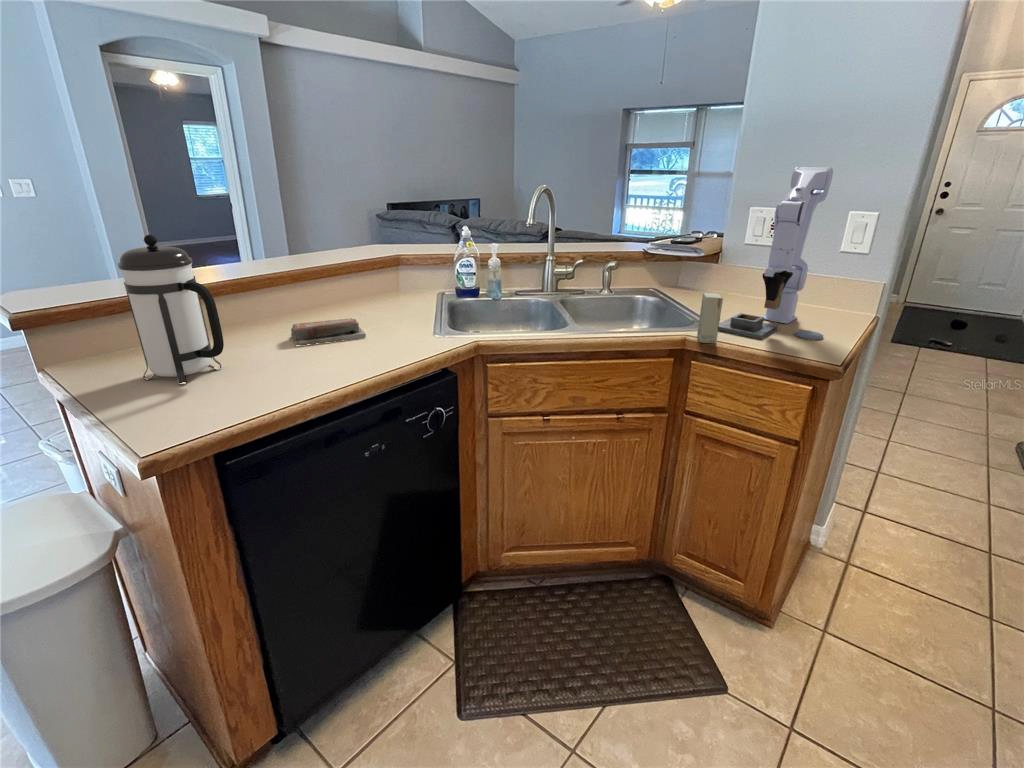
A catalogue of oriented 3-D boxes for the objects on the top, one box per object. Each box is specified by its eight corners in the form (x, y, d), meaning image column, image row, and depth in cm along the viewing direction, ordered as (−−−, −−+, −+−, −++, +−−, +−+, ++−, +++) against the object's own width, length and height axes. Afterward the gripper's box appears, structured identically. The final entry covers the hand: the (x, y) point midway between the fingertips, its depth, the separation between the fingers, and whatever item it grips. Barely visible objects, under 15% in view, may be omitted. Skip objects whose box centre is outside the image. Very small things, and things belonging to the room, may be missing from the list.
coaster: (799, 330, 150) (799, 328, 150) (826, 336, 146) (826, 333, 146) (791, 336, 146) (791, 334, 145) (818, 341, 141) (819, 339, 141)
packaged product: (292, 330, 133) (288, 320, 141) (295, 349, 135) (291, 338, 143) (365, 322, 140) (357, 313, 148) (367, 339, 142) (358, 329, 150)
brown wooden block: (768, 305, 149) (773, 280, 146) (779, 307, 147) (784, 282, 144) (764, 307, 147) (769, 282, 144) (775, 309, 145) (780, 284, 142)
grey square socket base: (732, 320, 160) (734, 309, 158) (777, 329, 152) (779, 317, 150) (713, 329, 151) (715, 317, 150) (760, 339, 143) (763, 326, 141)
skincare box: (716, 344, 139) (724, 298, 134) (699, 343, 140) (706, 297, 135) (713, 336, 145) (720, 292, 140) (696, 335, 146) (702, 291, 141)
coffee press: (136, 393, 107) (92, 242, 96) (150, 367, 121) (113, 231, 109) (232, 381, 114) (201, 237, 102) (235, 357, 127) (208, 228, 115)
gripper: (789, 253, 133) (778, 306, 138) (807, 247, 143) (797, 297, 148) (760, 250, 138) (751, 301, 143) (780, 244, 147) (771, 292, 153)
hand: (772, 299), depth 146 cm, fingers closed on brown wooden block, 3 cm apart
